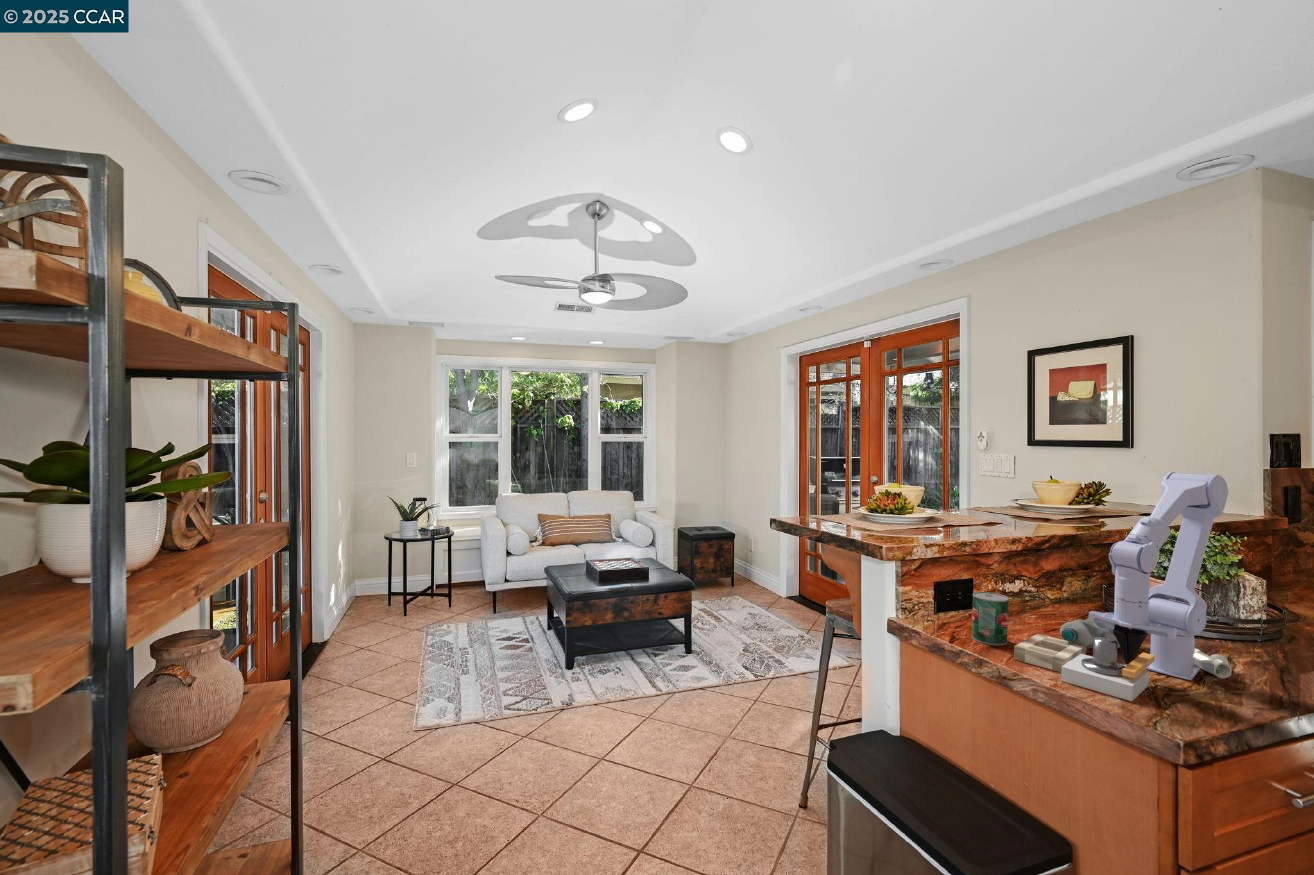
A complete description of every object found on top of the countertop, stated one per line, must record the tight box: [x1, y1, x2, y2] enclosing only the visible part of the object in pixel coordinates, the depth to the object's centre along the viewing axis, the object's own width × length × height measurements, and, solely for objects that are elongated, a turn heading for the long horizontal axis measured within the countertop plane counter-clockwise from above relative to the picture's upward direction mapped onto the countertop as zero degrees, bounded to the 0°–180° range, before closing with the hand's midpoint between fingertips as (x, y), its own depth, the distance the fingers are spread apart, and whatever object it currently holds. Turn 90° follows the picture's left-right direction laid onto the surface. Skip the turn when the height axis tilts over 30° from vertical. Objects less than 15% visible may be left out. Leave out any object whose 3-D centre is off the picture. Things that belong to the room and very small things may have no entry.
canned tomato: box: [971, 591, 1010, 646], centre depth 151 cm, size 8×8×11 cm
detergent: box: [1059, 611, 1121, 650], centre depth 147 cm, size 13×7×25 cm
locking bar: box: [1122, 652, 1155, 679], centre depth 124 cm, size 15×2×1 cm, turn 129°
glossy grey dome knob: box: [1081, 637, 1127, 676], centre depth 126 cm, size 8×8×9 cm
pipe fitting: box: [1194, 648, 1233, 679], centre depth 133 cm, size 8×4×7 cm
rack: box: [1013, 633, 1087, 673], centre depth 139 cm, size 14×10×3 cm
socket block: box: [1060, 654, 1150, 702], centre depth 126 cm, size 12×12×3 cm
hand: (1129, 663), depth 128 cm, fingers closed
